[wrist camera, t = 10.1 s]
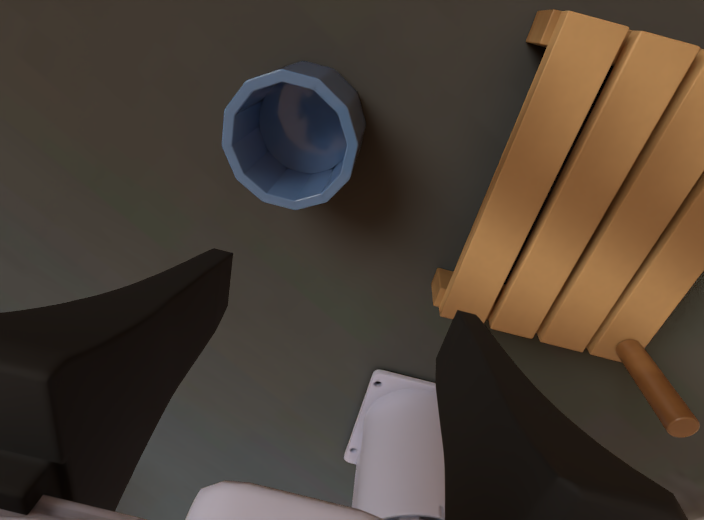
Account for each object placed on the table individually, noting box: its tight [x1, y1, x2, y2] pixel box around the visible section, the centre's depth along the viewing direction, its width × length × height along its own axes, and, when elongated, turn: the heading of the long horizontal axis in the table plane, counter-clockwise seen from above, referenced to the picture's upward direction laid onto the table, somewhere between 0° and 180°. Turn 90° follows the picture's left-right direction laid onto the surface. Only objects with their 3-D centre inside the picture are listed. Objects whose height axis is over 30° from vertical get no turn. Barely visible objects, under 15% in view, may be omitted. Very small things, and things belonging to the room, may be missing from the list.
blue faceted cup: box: [222, 61, 366, 210], centre depth 19 cm, size 6×6×4 cm
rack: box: [431, 9, 704, 438], centre depth 18 cm, size 14×11×8 cm
